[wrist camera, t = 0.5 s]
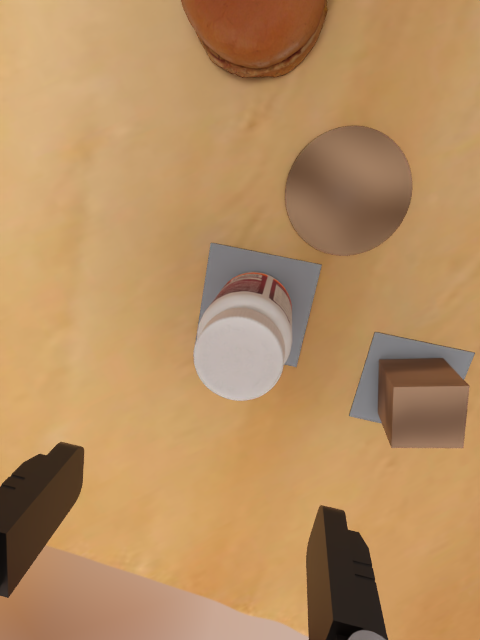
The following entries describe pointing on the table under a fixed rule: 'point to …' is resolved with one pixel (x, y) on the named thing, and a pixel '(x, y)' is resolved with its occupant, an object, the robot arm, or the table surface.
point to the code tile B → (398, 349)
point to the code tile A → (288, 272)
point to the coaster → (348, 190)
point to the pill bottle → (245, 337)
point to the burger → (257, 33)
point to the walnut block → (422, 403)
